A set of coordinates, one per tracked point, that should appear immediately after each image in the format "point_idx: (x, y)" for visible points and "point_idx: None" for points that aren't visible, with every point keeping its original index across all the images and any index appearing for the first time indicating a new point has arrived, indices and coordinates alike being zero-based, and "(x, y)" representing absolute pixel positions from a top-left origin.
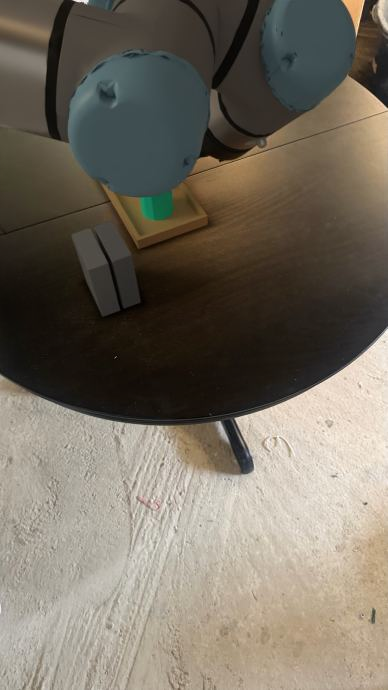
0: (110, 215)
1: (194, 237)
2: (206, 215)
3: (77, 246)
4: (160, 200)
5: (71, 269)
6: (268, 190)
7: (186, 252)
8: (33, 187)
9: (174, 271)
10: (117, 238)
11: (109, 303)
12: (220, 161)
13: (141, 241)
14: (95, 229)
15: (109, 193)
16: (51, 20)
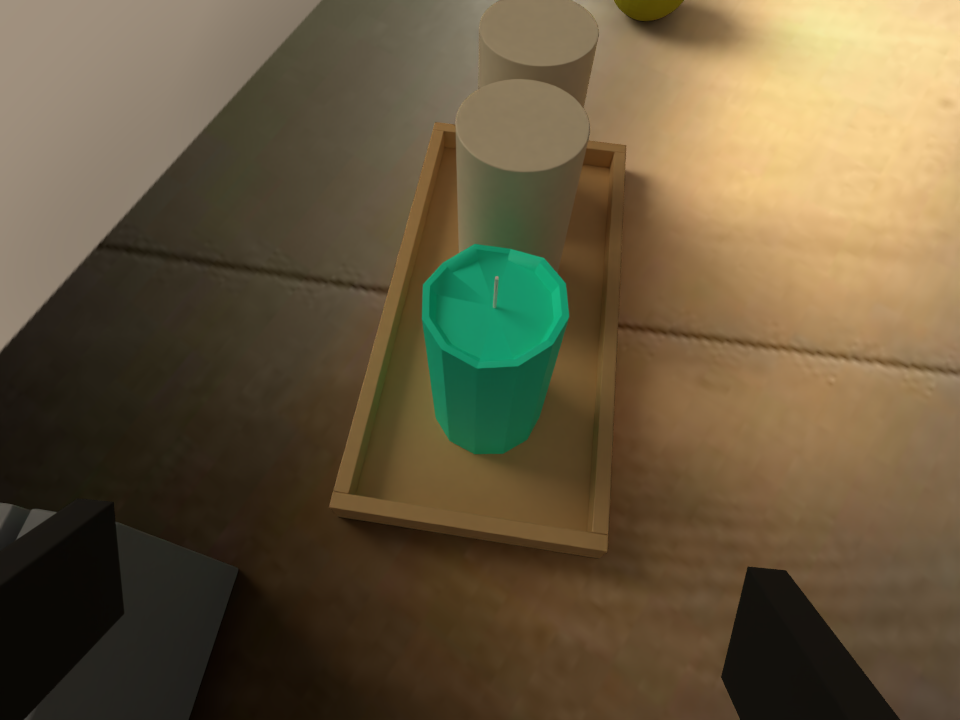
0: (360, 339)
1: (525, 585)
2: (604, 547)
3: None
4: (474, 423)
5: (123, 465)
6: (883, 541)
7: (459, 634)
8: (266, 149)
9: (368, 695)
10: None
11: None
12: (729, 692)
13: (345, 511)
14: (22, 528)
15: (393, 276)
16: None
